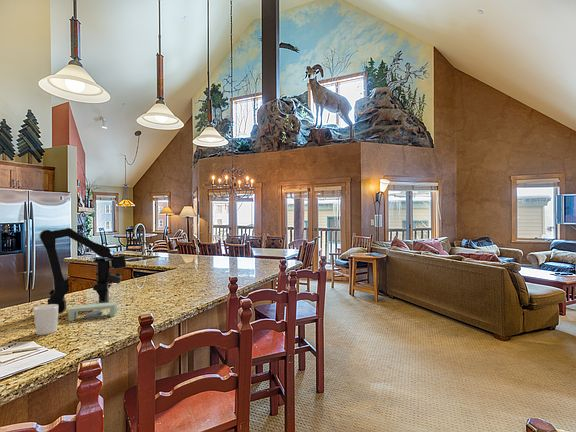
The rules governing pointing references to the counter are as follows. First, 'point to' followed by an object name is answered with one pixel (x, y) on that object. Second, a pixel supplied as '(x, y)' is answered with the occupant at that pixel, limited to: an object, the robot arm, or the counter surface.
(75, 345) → the counter surface
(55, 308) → the white cup
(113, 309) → the bracket
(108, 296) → the grey hammer
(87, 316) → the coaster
